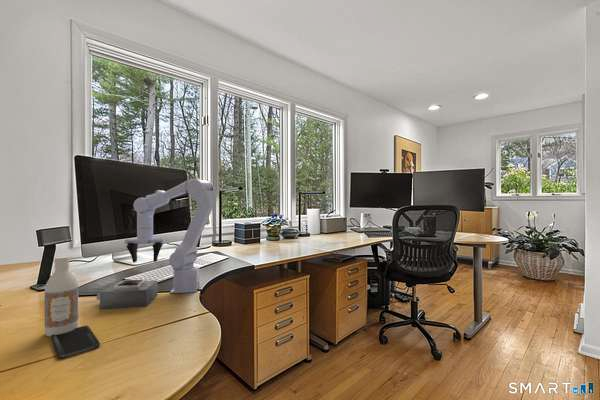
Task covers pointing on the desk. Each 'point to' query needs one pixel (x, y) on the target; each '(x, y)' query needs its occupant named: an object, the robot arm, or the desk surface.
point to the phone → (74, 342)
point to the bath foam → (61, 299)
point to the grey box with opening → (128, 294)
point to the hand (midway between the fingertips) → (145, 261)
